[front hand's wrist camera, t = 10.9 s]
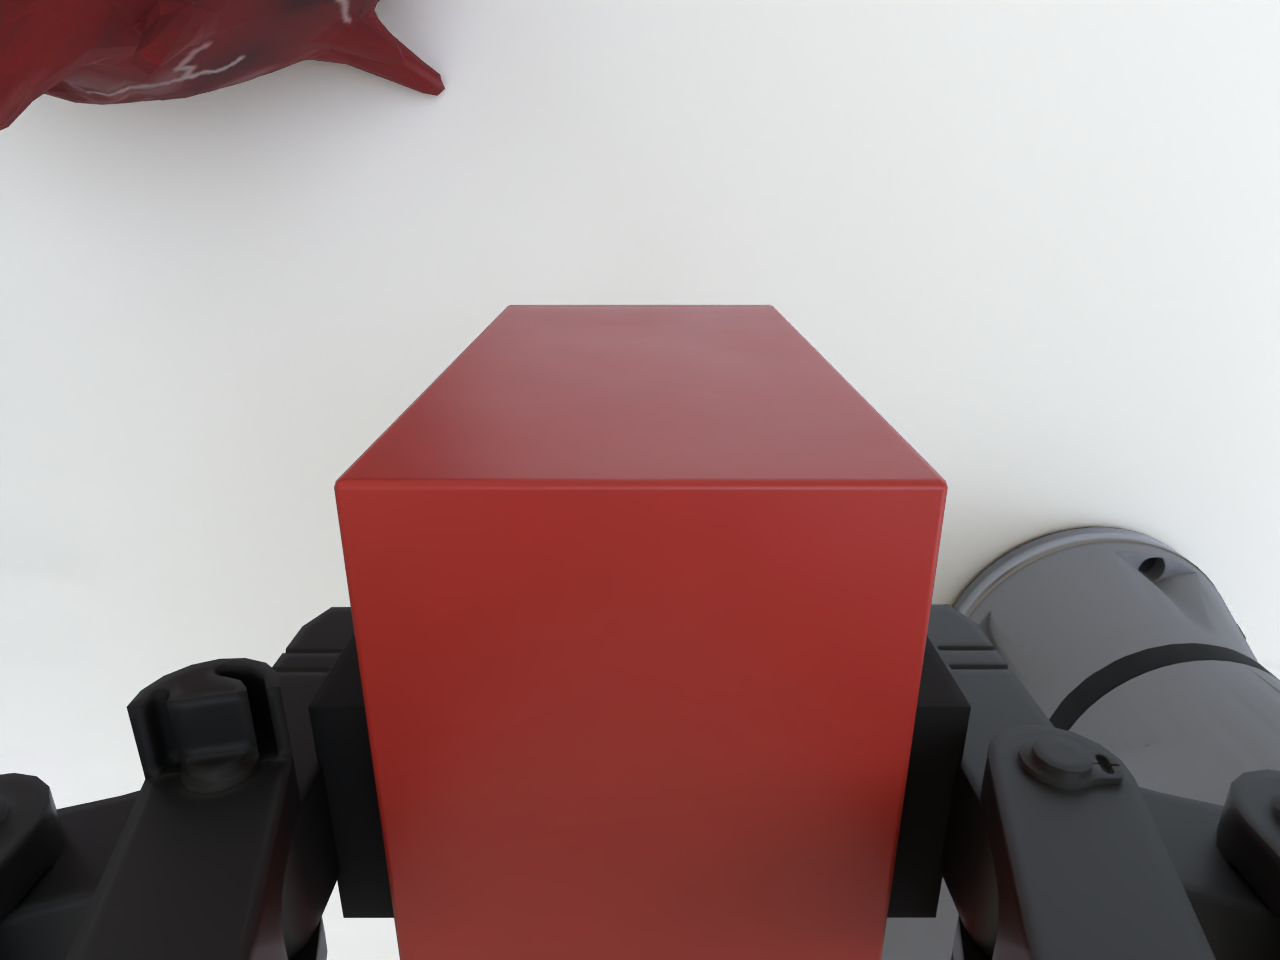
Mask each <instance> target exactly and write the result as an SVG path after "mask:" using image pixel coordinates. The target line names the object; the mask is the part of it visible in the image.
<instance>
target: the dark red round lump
mask: <svg viewBox="0 0 1280 960" xmlns="http://www.w3.org/2000/svg"><path fill="white" fill-rule="evenodd" d="M378 1H379V0H0V130H2V129H4V128H7V127H9V126H10V125H11V123H12V122H13V121H14V120H15V119H16V118H17V117H18V116H19V115H20V114H21V113H22V112H23V111H24V110H25V109H26V108H27V107H28V106H29V105H30V103H31V102H32V101H34V100H35V99H37V98H38V97H39V96H41V95H42V94H47V95H51V96H54V97H58V98H61V99H65V100H68V101H72V102H76V103H89V104H101V105H103V104H118V103H131V102H140V101H152V100H168V99H177V98H186V97H190V96H194V95H198V94H201V93H206V92H211V91H214V90H217V89H220V88H224V87H228V86H231V85H235V84H238V83H242V82H245V81H248V80H251V79H254V78H256V77H259V76H262V75H265V74H268V73H272V72H274V71H277V70H279V69H282V68H285V67H287V66H290V65H292V64H295V63H297V62H300V61H303V60H308V59H310V60H318V61H326V62H334V63H342V64H348V65H351V66H353V67H356V68H359V69H361V70H364V71H367V72H369V73H372V74H374V75H377V76H380V77H382V78H385V79H388V80H390V81H393V82H396V83H398V84H401V85H404V86H406V87H409V88H412V89H414V90H417V91H419V92H422V93H426V94H432V95H438V94H440V93H441V92H442V91H443V90H444V89H445V88H444V85H443V83H442V80H441V77H440V74H439V73H437V72H436V71H435V70H433V69H432V68H431V67H429V66H428V65H427V64H426V63H424V62H423V61H422V60H421V59H420V58H418V57H417V56H416V55H415V54H414V53H413V52H411V51H410V50H409V49H408V48H407V47H406V46H404V45H403V44H402V43H401V42H400V41H399V40H398V39H396V38H395V37H394V36H393V35H392V34H391V33H390V32H389V31H388V30H387V29H386V28H385V26H384V25H383V24H382V23H381V22H380V20H379V19H378V17H377V15H376V13H375V11H374V9H375V7H376V4H377V3H378Z"/></svg>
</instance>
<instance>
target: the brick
mask: <svg viewBox="0 0 1280 960" xmlns="http://www.w3.org/2000/svg"><path fill="white" fill-rule="evenodd" d="M947 488H948V487H947V484H946V481H945V480H944V479H943V478H942V477H941V476H940V475H939V474H938V473H937V472H936V471H935V470H934V469H933V468H932V467H931V466H930V465H929V464H928V463H927V462H926V461H925V460H924V459H923V458H922V457H921V456H920V455H919V454H918V453H917V452H916V451H915V449H914V448H913V447H912V446H911V445H910V444H909V443H908V442H907V441H906V440H905V439H904V438H903V437H902V436H901V435H900V434H899V433H898V432H897V431H896V430H895V429H894V428H893V427H892V426H891V425H890V424H889V423H888V422H887V421H886V420H885V419H884V418H883V417H882V416H881V415H880V414H879V413H878V412H877V411H876V410H875V409H874V408H873V407H872V406H871V405H870V404H869V403H868V402H867V401H866V400H865V399H864V398H863V397H862V396H861V395H860V394H859V393H858V392H857V391H856V390H855V389H854V388H853V387H852V386H851V385H850V384H849V383H848V382H847V381H846V380H845V379H844V378H843V377H842V376H841V375H840V374H839V373H838V372H837V371H836V370H835V369H834V368H833V367H832V366H831V365H830V364H829V363H828V362H827V361H826V360H825V359H824V358H823V357H822V356H821V355H820V353H819V352H818V351H817V350H816V349H815V348H814V347H813V346H812V345H811V344H810V343H809V342H808V341H807V340H806V339H805V338H804V337H803V336H802V335H801V334H800V333H799V332H798V331H797V330H796V329H795V328H794V327H793V326H792V325H791V324H790V323H789V322H788V321H787V320H786V319H785V318H784V317H783V316H782V315H781V314H780V313H779V312H778V311H777V310H776V309H775V308H774V307H773V306H771V305H510V306H508V307H507V308H506V309H505V310H504V311H503V312H502V313H501V314H500V315H499V316H498V317H497V318H496V319H495V320H494V321H493V322H492V323H491V324H490V325H489V326H488V327H487V328H486V329H485V330H484V331H483V332H482V333H481V334H480V335H479V336H478V337H477V338H476V339H475V340H474V341H473V342H472V343H471V344H470V345H469V346H468V347H467V348H466V349H465V350H464V351H463V352H462V353H461V355H460V356H459V357H458V358H457V359H456V360H455V361H454V362H453V363H452V364H451V365H450V366H449V367H448V368H447V369H446V370H445V371H444V372H443V373H442V374H441V375H440V376H439V377H438V378H437V379H436V380H435V381H434V382H433V383H432V384H431V385H430V386H429V387H428V388H427V389H426V390H425V391H424V392H423V393H422V394H421V395H420V396H419V397H418V398H417V399H416V400H415V401H414V402H413V403H412V404H411V405H410V406H409V407H408V408H407V409H406V410H405V411H404V412H403V413H402V414H401V415H400V417H399V418H398V419H397V420H396V421H395V422H394V423H393V424H392V425H391V426H390V427H389V428H388V429H387V430H386V431H385V432H384V433H383V434H382V435H381V436H380V437H379V438H378V439H377V440H376V441H375V442H374V443H373V444H372V445H371V446H370V447H369V448H368V449H367V450H366V451H365V452H364V453H363V454H362V455H361V456H360V457H359V458H358V459H357V460H356V461H355V462H354V463H353V464H352V465H351V466H350V467H349V468H348V469H347V470H346V471H345V472H344V473H343V474H342V475H341V476H340V477H339V479H338V480H337V481H336V483H335V486H334V490H335V497H336V504H337V511H338V518H339V526H340V533H341V540H342V547H343V554H344V561H345V569H346V576H347V583H348V590H349V597H350V604H351V612H352V619H353V626H354V633H355V640H356V647H357V655H358V662H359V669H360V676H361V683H362V690H363V698H364V705H365V712H366V719H367V726H368V733H369V741H370V748H371V755H372V762H373V769H374V776H375V784H376V791H377V798H378V805H379V812H380V819H381V827H382V834H383V841H384V848H385V855H386V862H387V870H388V877H389V884H390V891H391V898H392V905H393V912H394V920H395V927H396V934H397V941H398V948H399V956H400V960H881V958H882V951H883V944H884V937H885V929H886V922H887V915H888V908H889V901H890V894H891V887H892V880H893V872H894V865H895V858H896V851H897V844H898V837H899V830H900V823H901V815H902V808H903V801H904V794H905V787H906V780H907V773H908V766H909V758H910V751H911V744H912V737H913V730H914V723H915V716H916V709H917V701H918V694H919V687H920V680H921V673H922V666H923V659H924V652H925V644H926V637H927V630H928V623H929V616H930V609H931V602H932V595H933V587H934V580H935V573H936V566H937V559H938V552H939V545H940V538H941V530H942V523H943V516H944V509H945V502H946V495H947Z"/></svg>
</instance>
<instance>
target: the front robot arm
mask: <svg viewBox="0 0 1280 960" xmlns="http://www.w3.org/2000/svg"><path fill="white" fill-rule="evenodd" d="M127 710H128V714H129V718H130V721H131V725H132V729H133V733H134V737H135V741H136V744H137V748H138V752H139V756H140V760H141V764H142V767H143V771H144V775H145V781H144V784H143V786H142V788H141V790H140V791H136V792H133V793H129V794H126V795H122V796H118V797H113V798H108V799H104V800H99V801H94V802H90V803H85V804H80V805H76V806H71V807H66V808H61V809H57V810H56V807H55V804H54V800H53V797H52V794H51V791H50V788H49V786H48V785H47V784H45V783H44V782H43V781H42V780H41V779H39V778H38V777H37V776H31V775H24V774H17V773H10V774H2V775H0V960H326V959H327V945H326V938H325V931H324V926H323V920H322V914H323V912H324V909H325V907H326V905H327V902H328V900H329V898H330V895H331V893H332V891H333V888H334V886H335V884H336V881H338V887H339V893H340V899H341V905H342V911H343V917H344V918H394V912H393V905H392V898H391V891H390V884H389V877H388V870H387V862H386V855H385V848H384V841H383V834H382V827H381V819H380V812H379V805H378V798H377V791H376V784H375V776H374V769H373V762H372V755H371V748H370V741H369V733H368V726H367V719H366V712H365V705H364V698H363V690H362V683H361V676H360V669H359V662H358V655H357V647H356V640H355V633H354V626H353V619H352V612H351V607H331V608H330V609H328V610H327V611H325V612H324V613H322V614H321V615H319V616H318V617H316V618H315V619H313V620H312V621H310V622H309V623H307V624H306V625H304V626H303V627H302V628H301V629H300V631H299V632H298V633H297V635H296V636H295V637H294V639H293V640H292V641H291V643H290V644H289V645H288V647H287V648H286V653H282V655H281V656H280V658H279V659H278V660H277V662H276V663H275V664H274V666H273V667H270V666H269V665H268V664H267V663H264V662H260V661H256V660H251V659H247V658H234V659H217V660H212V661H208V662H203V663H198V664H194V665H190V666H188V667H185V668H183V669H180V670H178V671H175V672H173V673H170V674H168V675H165V676H163V677H161V678H160V679H158V680H157V681H155V682H154V683H152V684H150V685H149V686H147V687H146V688H144V689H143V690H141V691H140V692H139V693H138V695H137V696H136V697H135V698H134V699H133V700H132V702H131V703H130V704H129V705H128V706H127ZM881 960H1280V680H1279V679H1278V678H1276V677H1275V676H1274V675H1273V674H1271V673H1270V672H1269V671H1268V670H1266V669H1265V668H1264V667H1263V666H1261V665H1260V664H1259V663H1258V662H1257V660H1256V658H1255V656H1254V654H1253V653H1252V651H1251V649H1250V647H1249V645H1248V644H1247V642H1246V637H1245V636H1244V634H1243V632H1242V631H1241V629H1240V627H1239V626H1238V624H1236V622H1235V620H1234V618H1233V617H1232V615H1231V613H1230V611H1229V609H1228V608H1227V606H1226V604H1225V602H1224V600H1223V599H1222V597H1221V595H1220V594H1219V592H1218V591H1217V589H1216V588H1215V586H1214V584H1213V583H1212V582H1211V581H1210V580H1209V578H1208V577H1207V576H1206V575H1205V574H1204V573H1203V572H1202V571H1201V570H1200V569H1199V568H1198V567H1196V566H1195V565H1194V564H1192V563H1191V562H1190V561H1188V560H1187V559H1186V558H1184V557H1183V556H1181V555H1180V554H1179V553H1177V552H1176V551H1174V550H1173V549H1172V548H1170V547H1169V546H1167V545H1165V544H1164V543H1162V542H1160V541H1158V540H1156V539H1154V538H1151V537H1149V536H1147V535H1144V534H1140V533H1137V532H1134V531H1129V530H1124V529H1118V528H1108V527H1090V528H1078V529H1072V530H1066V531H1062V532H1058V533H1054V534H1050V535H1047V536H1044V537H1041V538H1038V539H1036V540H1033V541H1031V542H1029V543H1026V544H1024V545H1022V546H1020V547H1018V548H1016V549H1015V550H1013V551H1011V552H1009V553H1008V554H1006V555H1004V556H1003V557H1001V558H1000V559H998V560H997V561H996V562H994V563H993V564H992V565H990V566H989V567H988V568H986V569H985V570H984V571H983V572H982V573H981V574H980V575H979V576H978V577H976V578H975V580H974V581H973V582H972V583H971V584H970V585H969V586H968V587H967V588H966V589H965V591H964V592H963V593H962V595H961V596H960V597H959V598H958V600H957V602H956V603H955V605H954V606H953V607H951V606H950V605H931V609H930V616H929V623H928V630H927V637H926V644H925V652H924V659H923V666H922V673H921V680H920V687H919V694H918V701H917V709H916V716H915V723H914V730H913V737H912V744H911V751H910V758H909V766H908V773H907V780H906V787H905V794H904V801H903V808H902V815H901V823H900V830H899V837H898V844H897V851H896V858H895V865H894V872H893V880H892V887H891V894H890V901H889V908H888V915H887V922H886V929H885V937H884V944H883V951H882V958H881Z"/></svg>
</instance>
